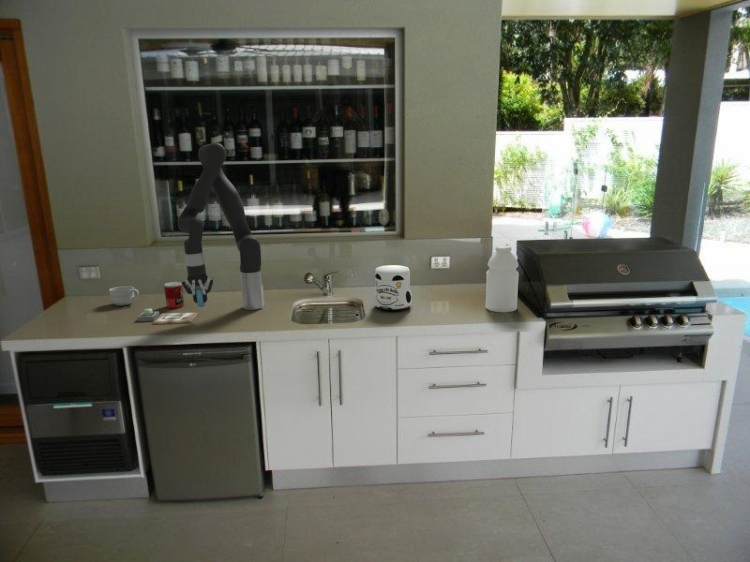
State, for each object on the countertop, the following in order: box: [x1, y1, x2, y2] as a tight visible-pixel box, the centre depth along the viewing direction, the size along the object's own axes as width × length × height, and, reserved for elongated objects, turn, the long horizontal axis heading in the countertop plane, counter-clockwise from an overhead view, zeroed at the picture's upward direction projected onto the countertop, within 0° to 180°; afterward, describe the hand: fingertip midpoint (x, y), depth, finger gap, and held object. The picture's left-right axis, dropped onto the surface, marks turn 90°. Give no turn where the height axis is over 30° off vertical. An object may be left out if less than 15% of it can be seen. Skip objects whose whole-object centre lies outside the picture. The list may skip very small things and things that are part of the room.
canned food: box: [163, 281, 185, 310], centre depth 260 cm, size 8×8×11 cm
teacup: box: [108, 285, 140, 306], centre depth 265 cm, size 14×11×8 cm
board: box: [152, 312, 199, 325], centre depth 243 cm, size 16×12×1 cm
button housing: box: [136, 310, 161, 322], centre depth 244 cm, size 7×7×2 cm
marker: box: [195, 286, 206, 308], centre depth 238 cm, size 3×3×9 cm
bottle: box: [484, 244, 520, 313], centre depth 246 cm, size 14×14×28 cm
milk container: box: [373, 264, 413, 312], centre depth 251 cm, size 17×17×18 cm
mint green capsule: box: [142, 308, 154, 316], centre depth 244 cm, size 4×4×3 cm
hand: (200, 302), depth 239 cm, fingers closed on marker, 3 cm apart
